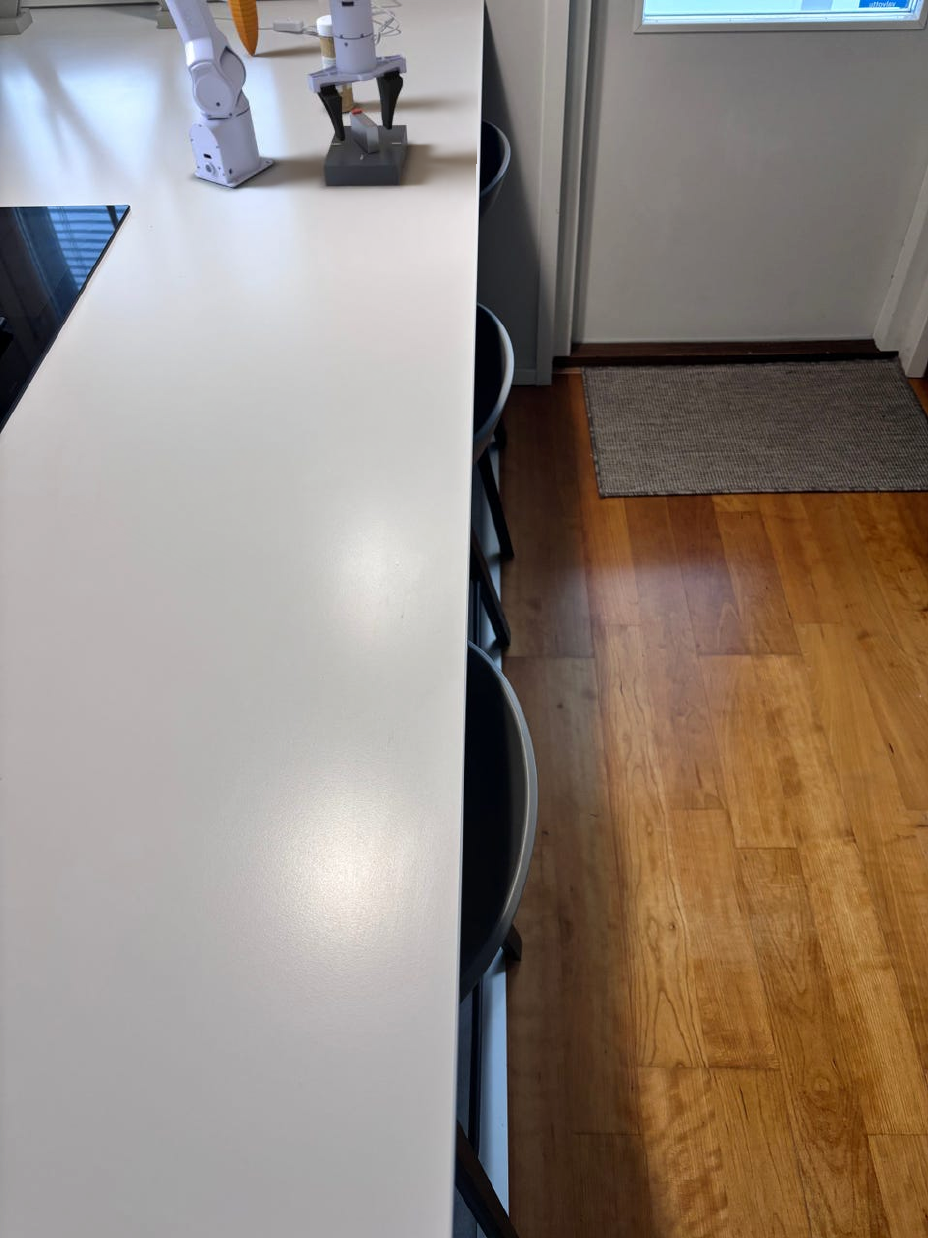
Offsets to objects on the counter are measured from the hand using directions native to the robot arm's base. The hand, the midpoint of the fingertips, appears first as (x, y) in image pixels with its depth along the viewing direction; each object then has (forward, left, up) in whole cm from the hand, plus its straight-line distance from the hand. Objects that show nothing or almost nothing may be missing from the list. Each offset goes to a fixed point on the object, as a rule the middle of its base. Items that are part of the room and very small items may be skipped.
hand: (364, 132), depth 143 cm
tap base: (0, 0, -5) cm, 5 cm away
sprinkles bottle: (+15, +17, -5) cm, 23 cm away
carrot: (+26, +47, -5) cm, 54 cm away
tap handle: (0, 0, -2) cm, 2 cm away
